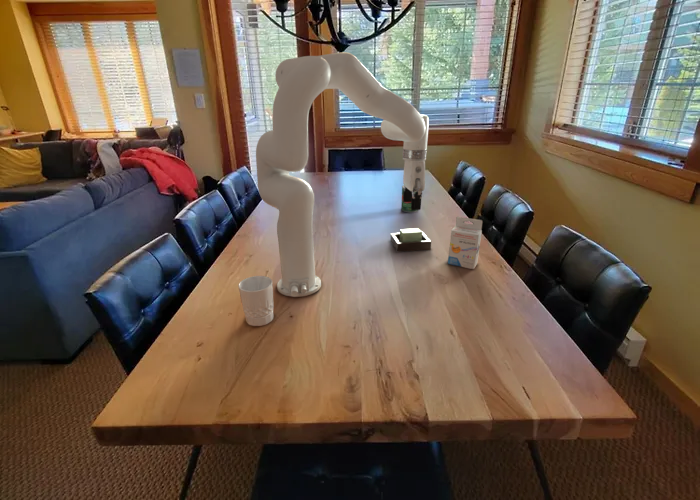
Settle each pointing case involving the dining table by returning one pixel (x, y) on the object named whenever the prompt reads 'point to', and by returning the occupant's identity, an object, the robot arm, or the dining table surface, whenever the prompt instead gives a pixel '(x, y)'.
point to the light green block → (410, 235)
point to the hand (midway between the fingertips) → (411, 205)
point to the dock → (410, 243)
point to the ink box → (465, 243)
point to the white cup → (257, 300)
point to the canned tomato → (406, 204)
